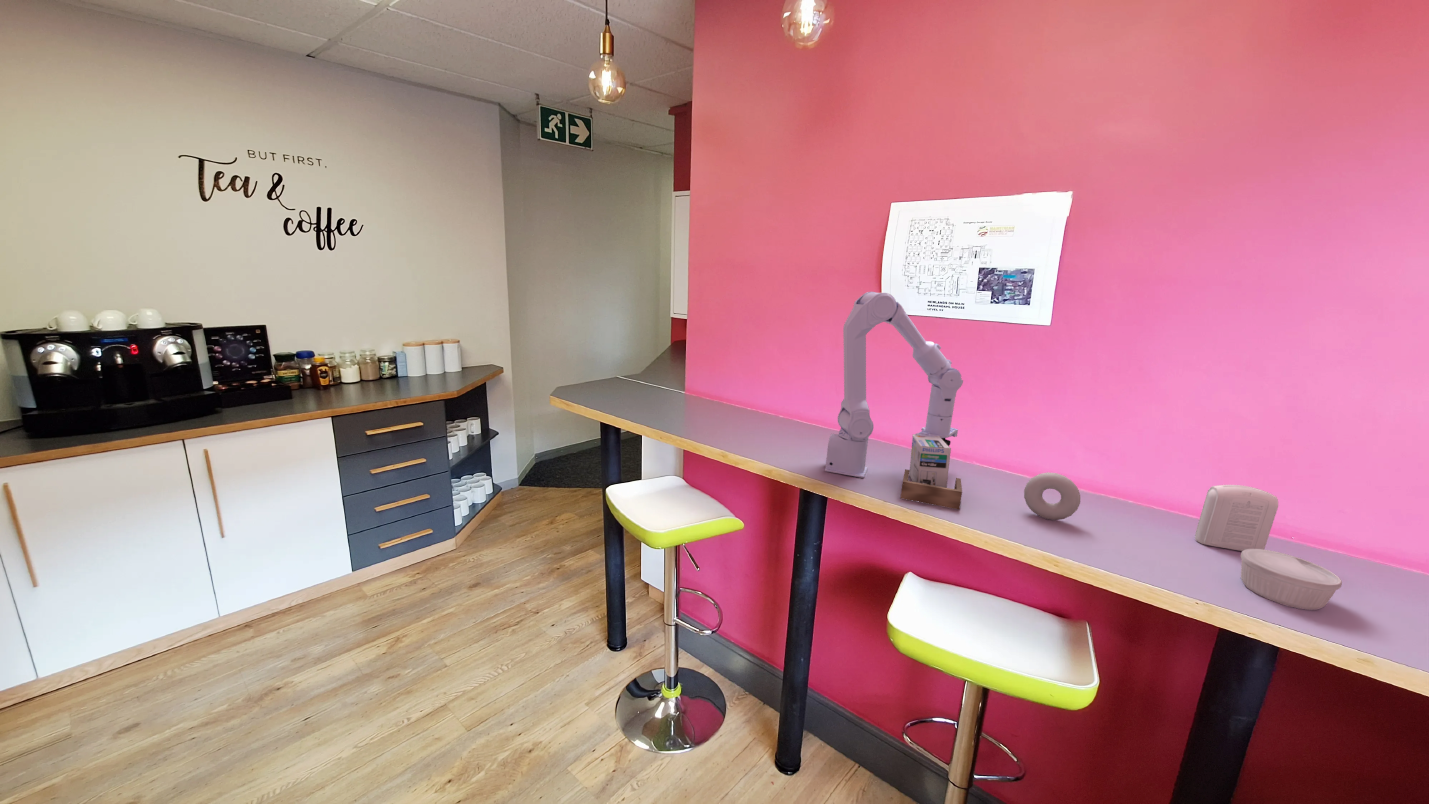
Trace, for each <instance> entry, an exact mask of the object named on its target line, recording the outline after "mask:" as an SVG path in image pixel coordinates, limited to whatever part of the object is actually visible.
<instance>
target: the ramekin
mask: <svg viewBox="0 0 1429 804" xmlns="http://www.w3.org/2000/svg"><path fill="white" fill-rule="evenodd" d="M1240 560H1241V564H1240V565H1241V569H1240V579H1241V581H1242V583H1243V584H1244V586H1245V587H1246V588H1247V589H1249V590H1250V591H1251V592H1253V593H1254V594H1257V595H1258V596H1261V597H1262V598H1265V599H1267V600H1270V601H1271V602H1275V603H1277V604H1281V605H1284V606H1287V607H1291V608H1294V609H1299V610H1307V611H1315V610H1319V609H1322V608H1324V607H1326V605H1327V604H1328V603H1329V601H1330V600H1331V598H1333V596H1334V594H1335V593H1336V591H1338V590H1340V588H1341V587H1342V584H1343V581H1342V580H1341V578H1340V577H1339V576H1338V575H1336V574H1335V573H1334V572H1332V571H1331V570H1329V569H1328V568H1325V567H1323V566H1321V565H1319V564H1316V563H1314V562H1312V561H1308V560H1306V559H1303V558H1301V557H1297V556H1294V555H1291V554H1287V553H1284V552H1279V551H1275V550H1269V549H1264V550H1263V549H1246V550H1244V551H1241V553H1240Z"/></svg>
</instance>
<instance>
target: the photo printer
mask: <svg viewBox="0 0 1429 804" xmlns="http://www.w3.org/2000/svg"><path fill="white" fill-rule="evenodd" d="M1278 508H1279V499H1278V497H1277V496H1276V495H1273V494H1272V493H1271V492H1268V491H1265V490H1263V489H1260V488H1256V487H1253V486H1247V485H1239V484H1222V485H1221V484H1220V485H1212V486H1211V487H1209V489H1208V490H1207V493H1206V496H1205V499H1204V503H1203V506H1202V509H1201V512H1200V516H1199V520H1198V523H1197V527H1196V529H1195V535H1194V536H1195V537H1194V539H1195V541H1196V542H1198V543H1199V544H1202V545H1205V546H1212V547H1217V548H1222V549H1228V550H1234V551H1241V552H1242V551H1244V550H1246V549H1263V550H1266V545H1267V542H1268V539H1269V536H1270V534H1271V530H1272V528H1273V524H1274V521H1275V517H1276V515H1277V511H1278Z"/></svg>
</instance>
